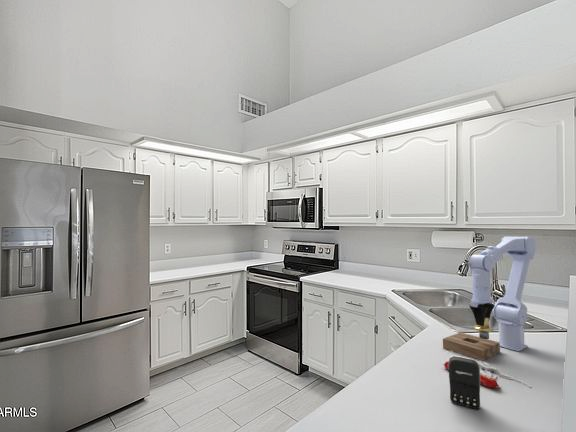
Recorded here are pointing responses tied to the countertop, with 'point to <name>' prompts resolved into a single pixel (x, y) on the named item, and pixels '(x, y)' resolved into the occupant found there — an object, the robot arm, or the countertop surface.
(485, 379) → the candy bar
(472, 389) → the battery charger
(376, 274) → the countertop surface
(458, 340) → the hitch block
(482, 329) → the pin
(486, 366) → the pliers
